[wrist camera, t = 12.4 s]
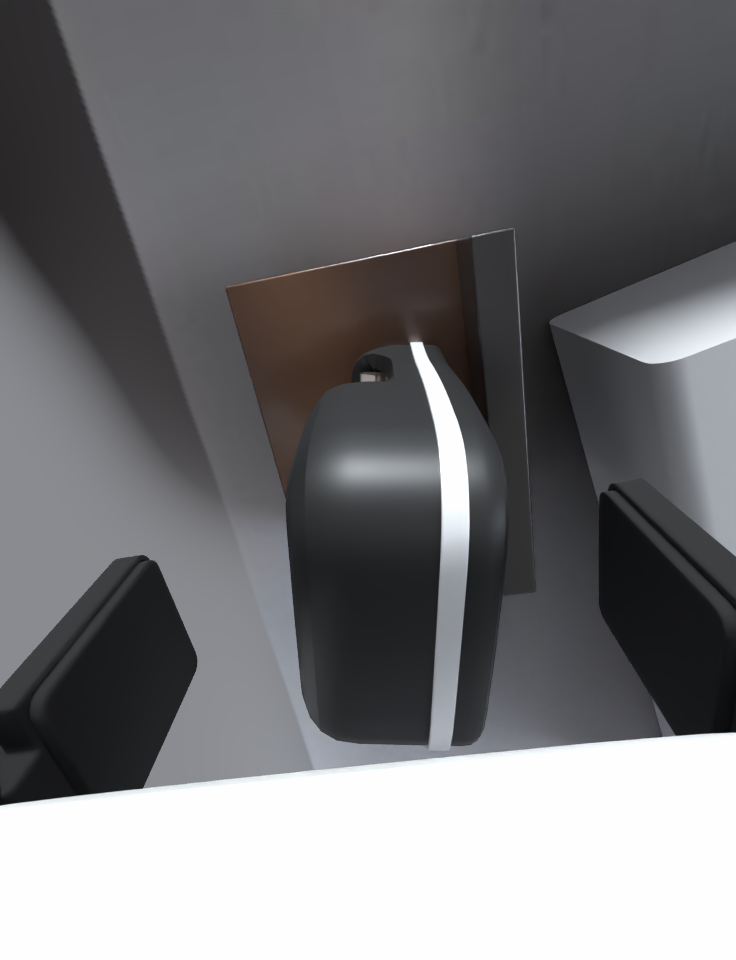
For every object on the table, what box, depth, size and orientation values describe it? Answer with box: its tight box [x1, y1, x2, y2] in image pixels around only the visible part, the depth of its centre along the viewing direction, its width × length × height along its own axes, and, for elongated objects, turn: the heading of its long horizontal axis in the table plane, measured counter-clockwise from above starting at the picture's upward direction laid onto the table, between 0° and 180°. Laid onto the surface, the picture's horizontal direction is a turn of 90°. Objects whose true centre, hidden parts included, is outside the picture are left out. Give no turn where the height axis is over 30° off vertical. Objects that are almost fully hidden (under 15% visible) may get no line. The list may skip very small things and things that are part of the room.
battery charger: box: [286, 342, 509, 751], centre depth 13 cm, size 7×4×11 cm, turn 1°
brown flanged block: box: [226, 227, 536, 596], centre depth 19 cm, size 9×12×8 cm
